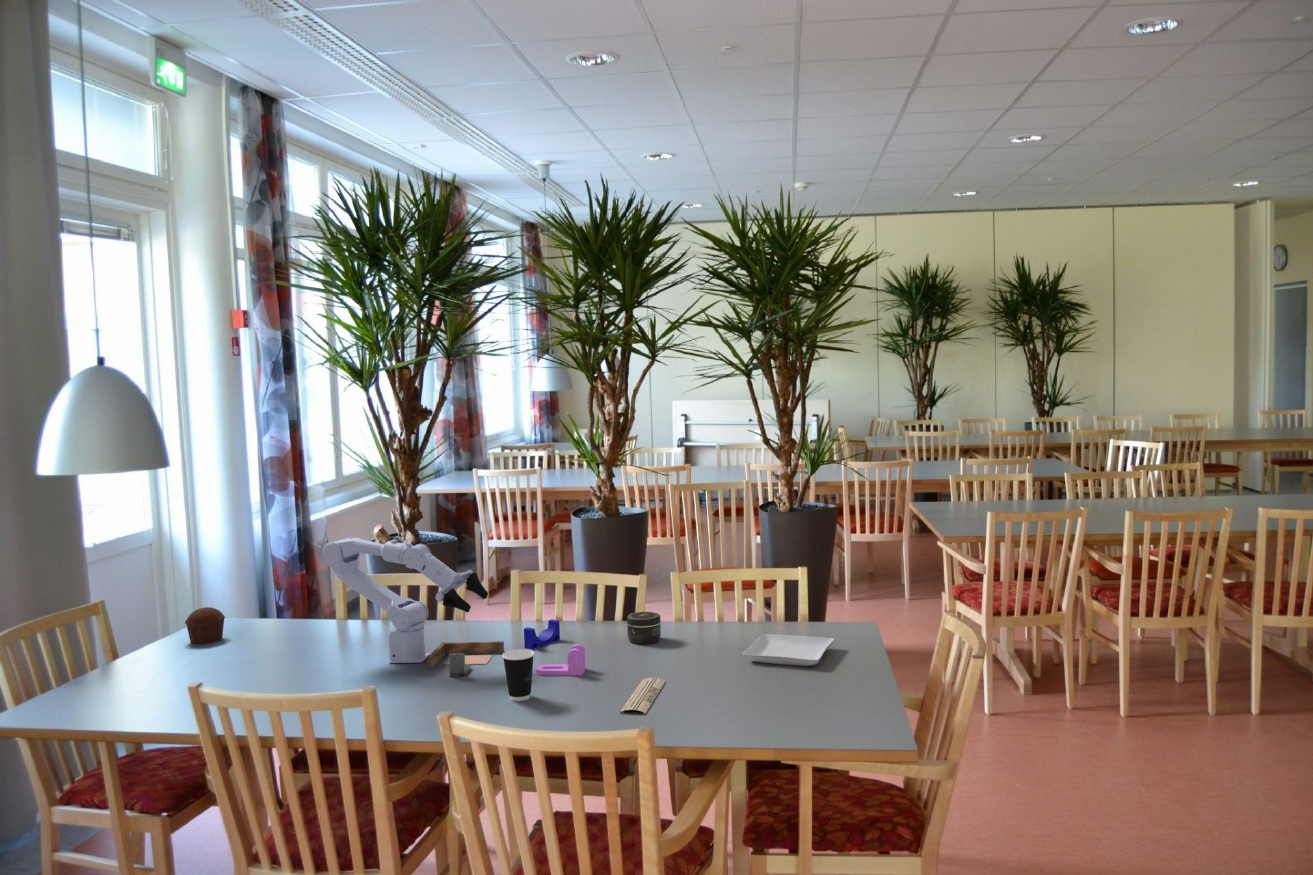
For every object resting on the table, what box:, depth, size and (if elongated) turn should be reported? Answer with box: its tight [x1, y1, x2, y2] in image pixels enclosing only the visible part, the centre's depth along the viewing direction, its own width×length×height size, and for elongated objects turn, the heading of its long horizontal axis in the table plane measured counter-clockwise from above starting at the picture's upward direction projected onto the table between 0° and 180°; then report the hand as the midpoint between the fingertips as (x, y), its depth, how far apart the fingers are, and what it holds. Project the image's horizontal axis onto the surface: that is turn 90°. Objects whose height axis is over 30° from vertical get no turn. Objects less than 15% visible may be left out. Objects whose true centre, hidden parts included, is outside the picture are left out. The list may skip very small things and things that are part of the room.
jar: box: [626, 611, 662, 646], centre depth 288 cm, size 10×10×8 cm
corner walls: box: [427, 640, 505, 669], centre depth 274 cm, size 18×15×3 cm
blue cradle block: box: [523, 618, 561, 651], centre depth 288 cm, size 12×4×6 cm, turn 143°
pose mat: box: [446, 654, 493, 666], centre depth 274 cm, size 11×8×1 cm
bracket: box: [535, 643, 587, 677], centre depth 260 cm, size 13×6×7 cm, turn 85°
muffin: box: [184, 607, 226, 645], centre depth 303 cm, size 12×11×10 cm
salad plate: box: [742, 633, 835, 667], centre depth 268 cm, size 21×21×3 cm
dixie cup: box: [501, 649, 535, 702], centre depth 240 cm, size 8×8×11 cm
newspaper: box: [619, 677, 666, 715], centre depth 238 cm, size 24×7×2 cm, turn 168°
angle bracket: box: [448, 653, 472, 678], centre depth 262 cm, size 7×4×6 cm, turn 178°
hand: (478, 602), depth 268 cm, fingers open, 7 cm apart
